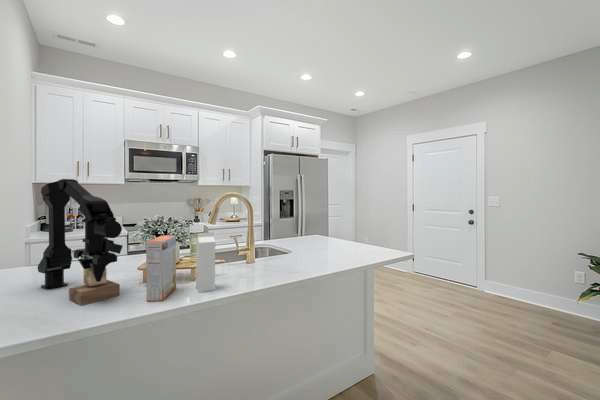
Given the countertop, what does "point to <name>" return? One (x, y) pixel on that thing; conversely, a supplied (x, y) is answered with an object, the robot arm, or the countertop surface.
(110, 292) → the walnut box
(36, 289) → the countertop surface
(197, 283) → the milk
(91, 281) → the oak cube
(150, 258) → the cracker box
